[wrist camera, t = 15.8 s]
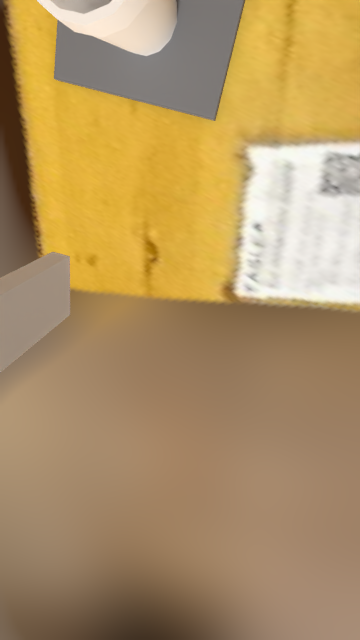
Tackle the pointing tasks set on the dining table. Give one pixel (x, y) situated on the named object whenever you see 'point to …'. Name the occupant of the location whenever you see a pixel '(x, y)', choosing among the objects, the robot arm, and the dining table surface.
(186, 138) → the dining table surface
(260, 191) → the dining table surface
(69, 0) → the foam cup
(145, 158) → the dining table surface
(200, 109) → the rubber mat
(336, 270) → the dining table surface
